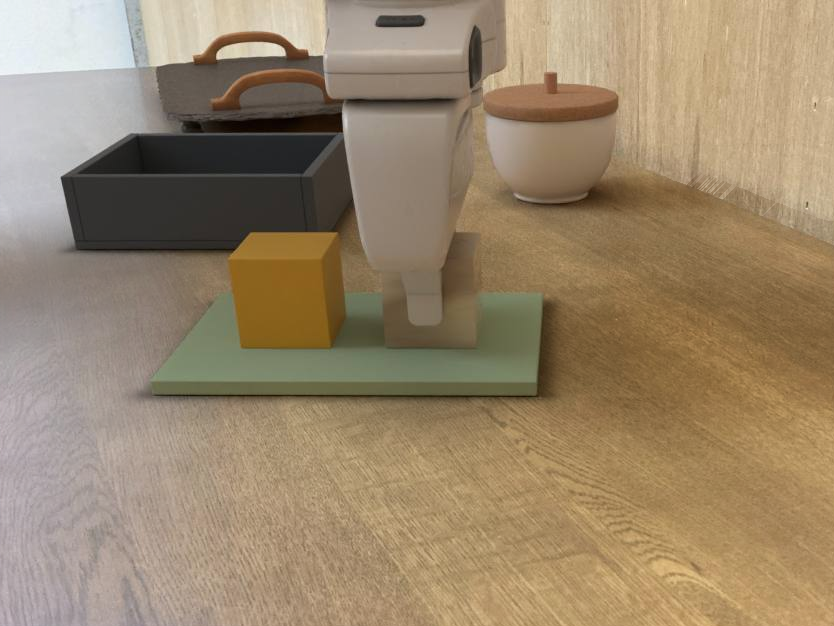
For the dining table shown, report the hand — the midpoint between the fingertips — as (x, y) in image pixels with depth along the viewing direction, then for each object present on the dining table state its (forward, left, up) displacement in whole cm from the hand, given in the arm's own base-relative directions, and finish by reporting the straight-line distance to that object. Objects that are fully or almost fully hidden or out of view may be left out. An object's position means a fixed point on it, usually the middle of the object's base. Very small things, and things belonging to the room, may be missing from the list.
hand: (433, 301), depth 64 cm
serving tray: (-26, +72, -3) cm, 77 cm away
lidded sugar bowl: (+6, +34, -3) cm, 35 cm away
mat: (-4, 0, -3) cm, 5 cm away
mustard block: (-8, 0, -2) cm, 8 cm away
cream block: (0, 0, -2) cm, 2 cm away
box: (-19, +26, -3) cm, 32 cm away
